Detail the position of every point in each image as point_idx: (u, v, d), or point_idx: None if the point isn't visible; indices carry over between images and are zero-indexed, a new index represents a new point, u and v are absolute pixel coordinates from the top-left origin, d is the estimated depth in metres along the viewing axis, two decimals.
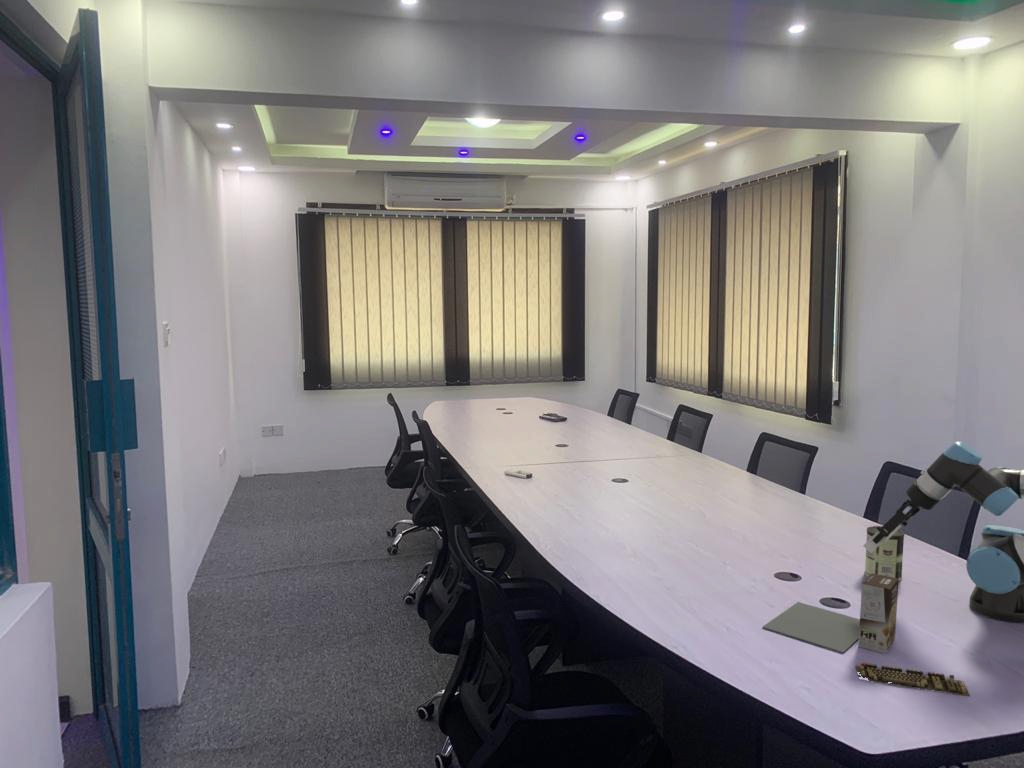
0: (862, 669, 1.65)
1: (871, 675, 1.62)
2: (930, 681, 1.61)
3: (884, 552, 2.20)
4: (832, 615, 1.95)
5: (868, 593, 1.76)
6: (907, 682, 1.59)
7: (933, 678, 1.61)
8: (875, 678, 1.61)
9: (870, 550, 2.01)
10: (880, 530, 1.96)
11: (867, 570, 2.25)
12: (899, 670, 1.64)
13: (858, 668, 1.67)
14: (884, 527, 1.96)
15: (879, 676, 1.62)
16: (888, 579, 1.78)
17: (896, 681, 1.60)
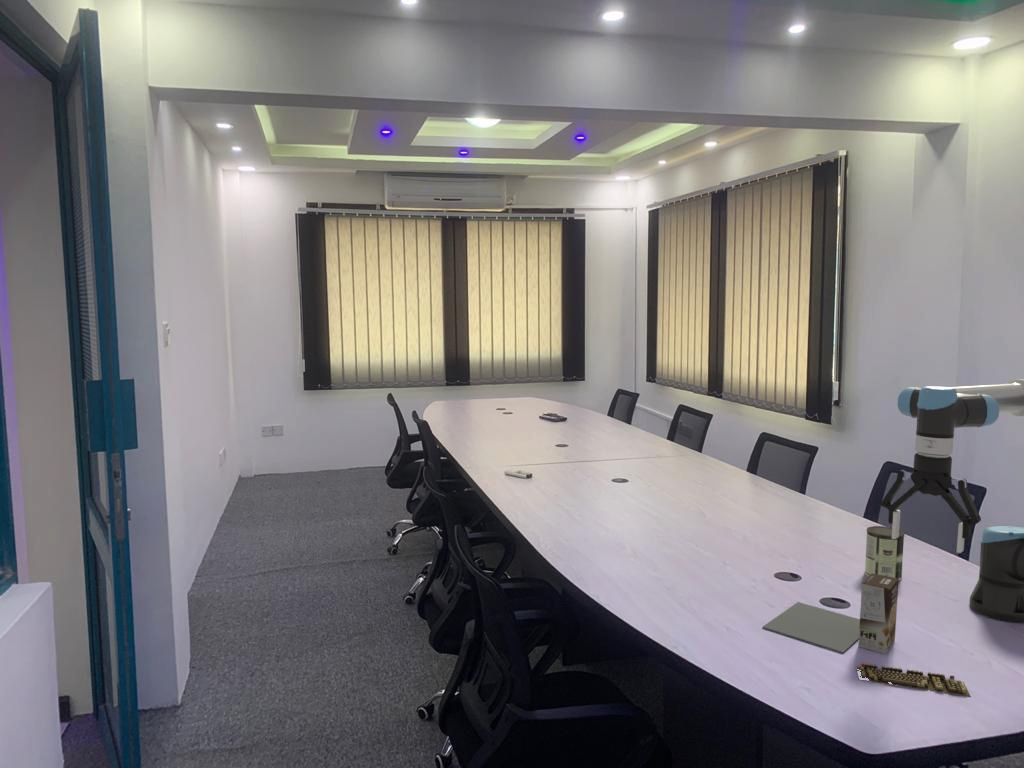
0: (862, 669, 1.65)
1: (871, 675, 1.62)
2: (930, 681, 1.61)
3: (884, 552, 2.20)
4: (832, 615, 1.95)
5: (868, 593, 1.76)
6: (907, 682, 1.59)
7: (933, 678, 1.61)
8: (875, 678, 1.61)
9: (963, 549, 1.66)
10: (978, 521, 1.62)
11: (867, 570, 2.25)
12: (899, 670, 1.64)
13: None
14: (976, 515, 1.62)
15: (879, 676, 1.62)
16: (888, 579, 1.78)
17: (896, 681, 1.60)
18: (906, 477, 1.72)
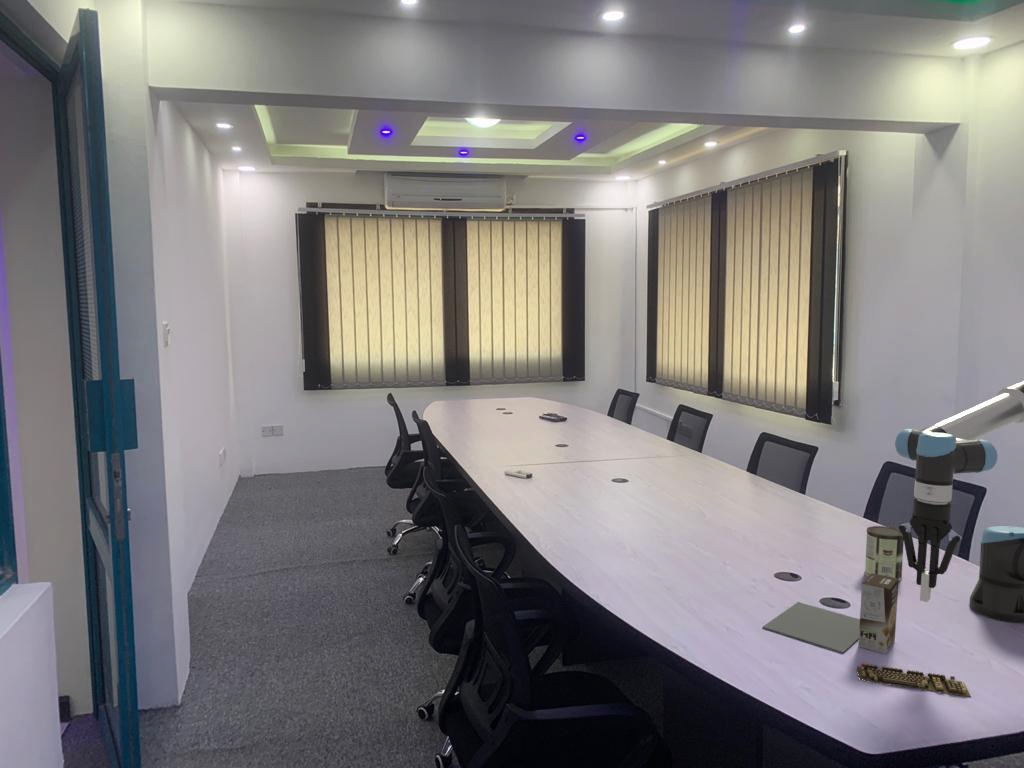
0: (862, 670, 1.65)
1: (871, 675, 1.62)
2: (931, 681, 1.61)
3: (884, 552, 2.20)
4: (832, 615, 1.95)
5: (868, 593, 1.76)
6: (907, 682, 1.59)
7: (934, 679, 1.60)
8: (875, 678, 1.61)
9: (929, 597, 1.71)
10: (944, 571, 1.67)
11: (867, 570, 2.25)
12: (900, 671, 1.64)
13: (858, 669, 1.67)
14: (946, 568, 1.67)
15: (879, 676, 1.62)
16: (888, 579, 1.78)
17: (896, 681, 1.60)
18: (908, 528, 1.72)
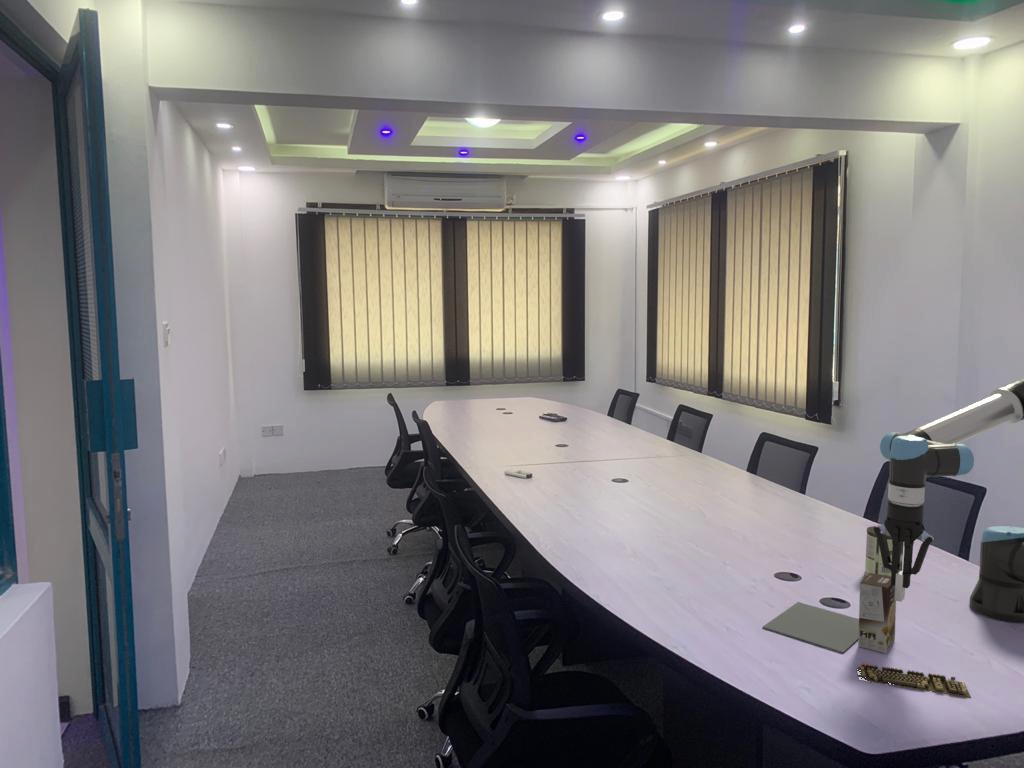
0: (862, 670, 1.65)
1: (871, 676, 1.62)
2: (931, 682, 1.61)
3: None
4: (832, 615, 1.95)
5: (866, 592, 1.76)
6: (907, 683, 1.59)
7: (934, 679, 1.60)
8: (875, 679, 1.61)
9: (903, 597, 1.75)
10: None
11: (867, 570, 2.25)
12: (900, 671, 1.64)
13: (858, 669, 1.67)
14: (919, 568, 1.71)
15: (879, 677, 1.62)
16: (886, 578, 1.79)
17: (896, 682, 1.60)
18: (883, 529, 1.76)
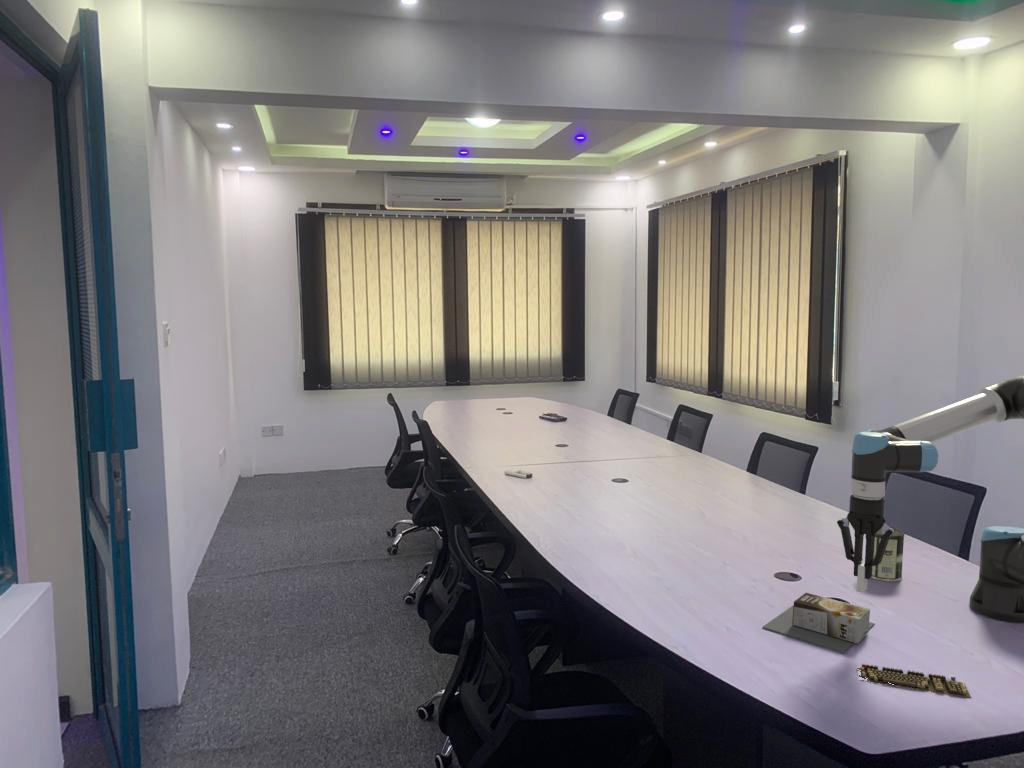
0: (862, 670, 1.65)
1: (871, 676, 1.62)
2: (931, 682, 1.61)
3: None
4: None
5: (801, 621, 1.87)
6: (907, 683, 1.59)
7: (934, 680, 1.60)
8: (875, 679, 1.61)
9: (866, 588, 1.81)
10: (878, 563, 1.77)
11: None
12: (900, 671, 1.64)
13: (859, 669, 1.67)
14: (880, 560, 1.77)
15: (879, 677, 1.62)
16: None
17: (896, 682, 1.60)
18: (846, 522, 1.82)
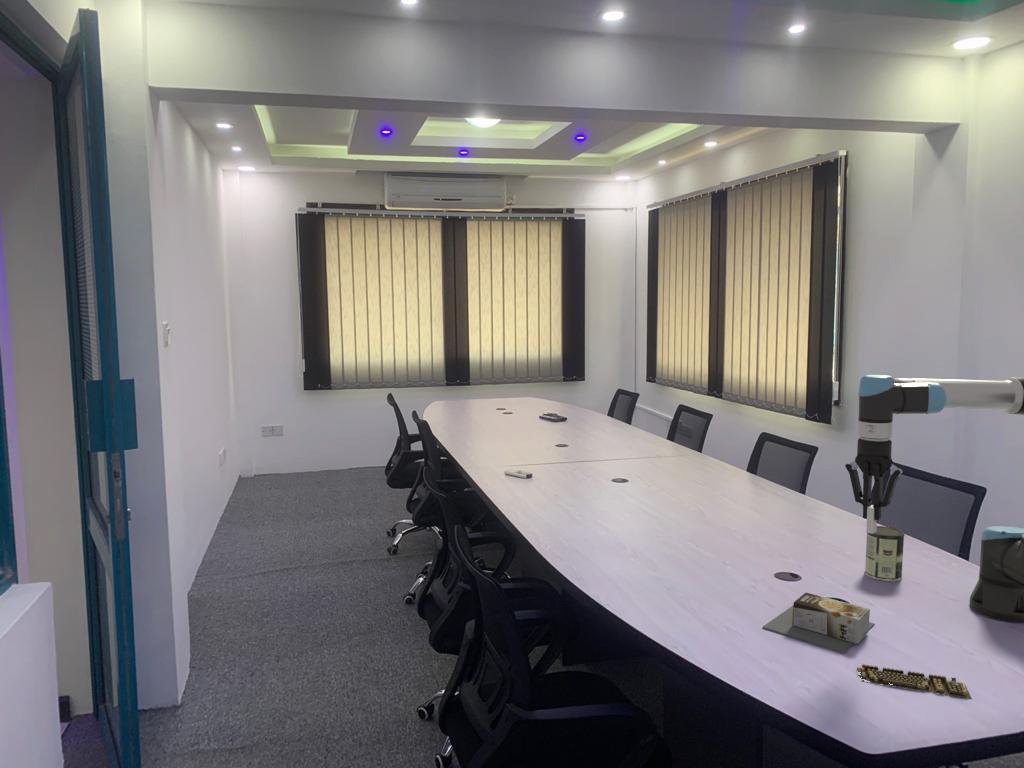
0: (863, 671, 1.65)
1: (871, 677, 1.62)
2: (932, 683, 1.60)
3: (884, 552, 2.20)
4: None
5: (801, 621, 1.87)
6: (908, 684, 1.59)
7: (934, 680, 1.60)
8: (875, 680, 1.61)
9: (875, 530, 1.83)
10: (887, 504, 1.79)
11: (867, 570, 2.25)
12: (900, 672, 1.64)
13: (859, 670, 1.66)
14: (888, 500, 1.79)
15: (880, 678, 1.61)
16: None
17: (897, 683, 1.59)
18: (854, 466, 1.84)
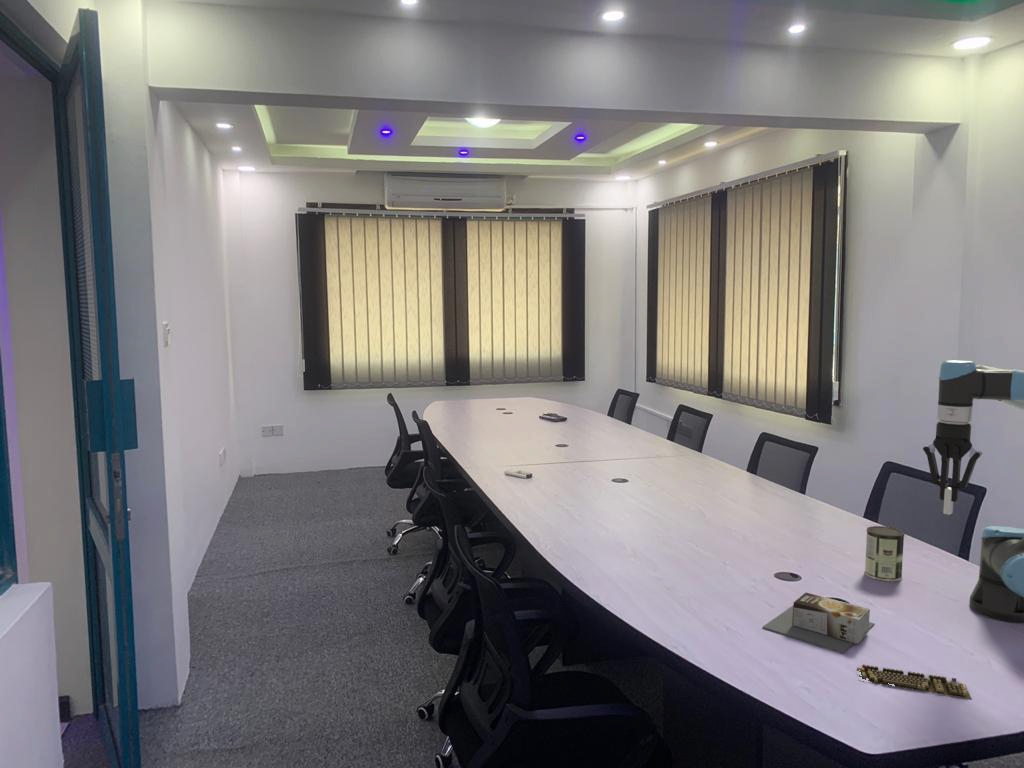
0: (863, 671, 1.65)
1: (871, 677, 1.62)
2: (932, 683, 1.60)
3: (884, 552, 2.20)
4: None
5: (801, 621, 1.87)
6: (908, 684, 1.59)
7: (934, 681, 1.60)
8: (875, 680, 1.61)
9: (952, 511, 1.88)
10: (965, 486, 1.84)
11: (867, 570, 2.25)
12: (900, 672, 1.63)
13: None
14: (967, 482, 1.84)
15: (879, 678, 1.61)
16: None
17: (897, 683, 1.59)
18: (932, 448, 1.89)
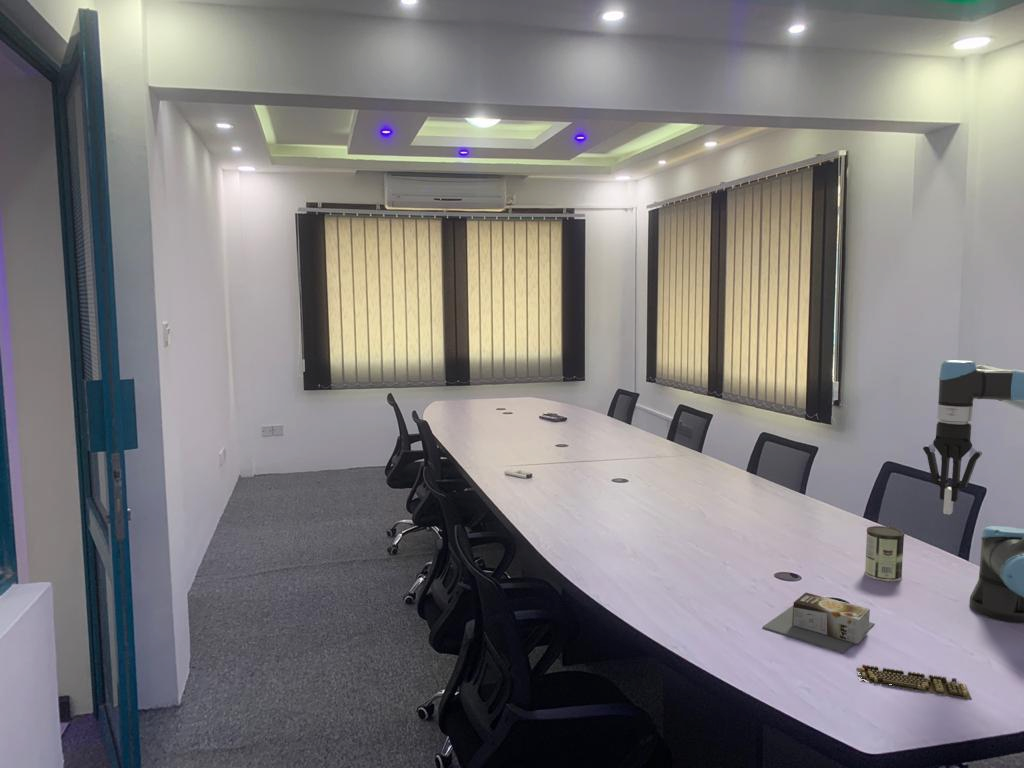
0: (863, 671, 1.65)
1: (871, 677, 1.62)
2: (932, 683, 1.60)
3: (884, 552, 2.20)
4: None
5: (801, 621, 1.87)
6: (908, 684, 1.58)
7: (935, 681, 1.59)
8: (875, 680, 1.61)
9: (952, 511, 1.88)
10: (965, 485, 1.84)
11: (867, 570, 2.25)
12: (900, 672, 1.63)
13: (859, 670, 1.66)
14: (967, 482, 1.84)
15: (880, 678, 1.61)
16: None
17: (897, 683, 1.59)
18: (932, 448, 1.89)
